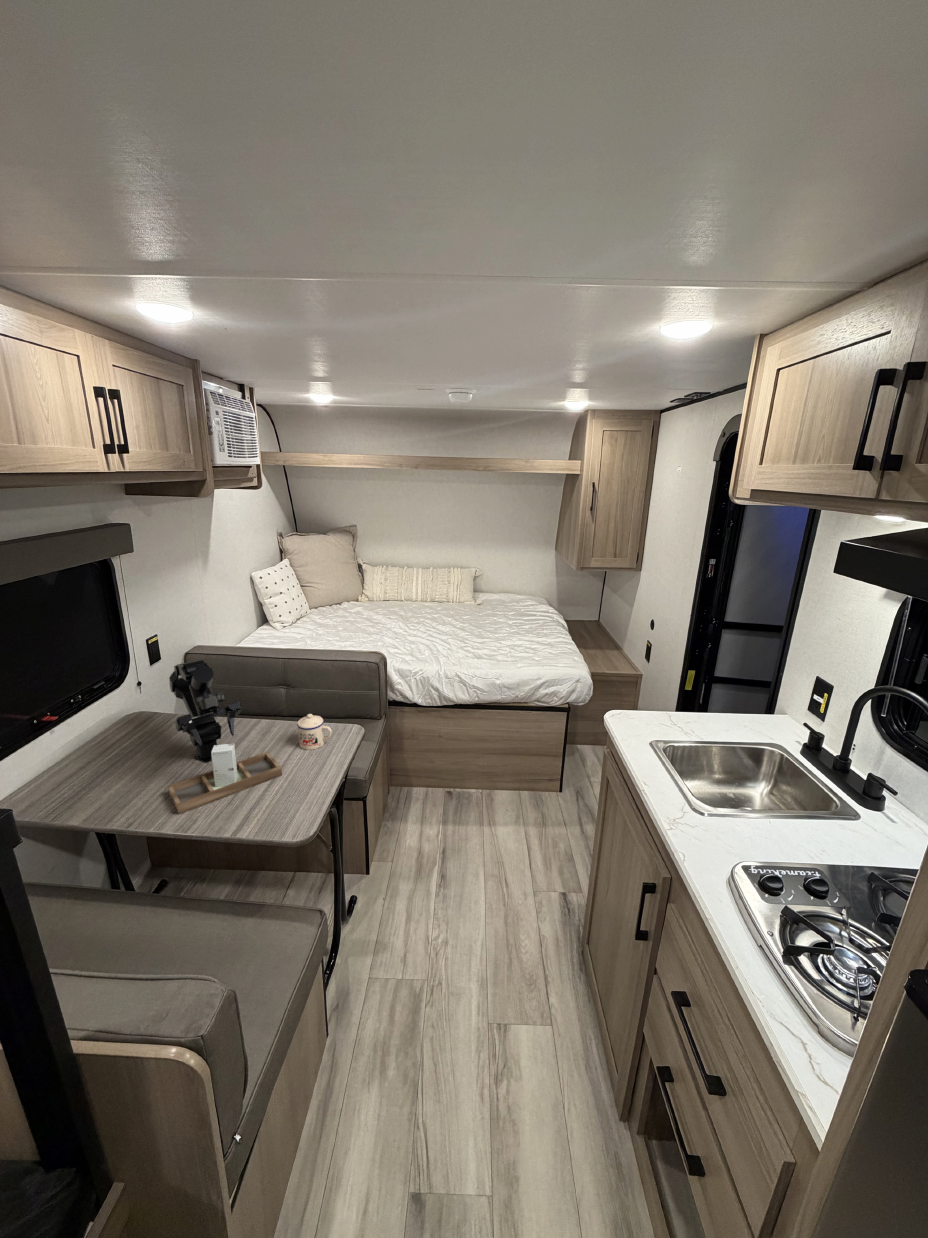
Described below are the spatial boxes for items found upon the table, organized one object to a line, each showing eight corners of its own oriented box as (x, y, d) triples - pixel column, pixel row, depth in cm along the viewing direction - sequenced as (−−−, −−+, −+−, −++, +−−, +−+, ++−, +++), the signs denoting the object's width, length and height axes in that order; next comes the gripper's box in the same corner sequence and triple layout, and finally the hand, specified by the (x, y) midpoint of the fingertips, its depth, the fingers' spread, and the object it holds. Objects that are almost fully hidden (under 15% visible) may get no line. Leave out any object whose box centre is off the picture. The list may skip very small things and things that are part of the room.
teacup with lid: (294, 750, 177) (292, 720, 174) (304, 736, 186) (302, 708, 183) (328, 751, 176) (326, 722, 173) (336, 738, 185) (334, 709, 182)
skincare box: (214, 787, 155) (209, 752, 151) (218, 779, 159) (212, 745, 155) (236, 784, 156) (231, 750, 153) (239, 776, 160) (234, 742, 157)
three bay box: (169, 794, 153) (167, 786, 152) (268, 759, 171) (267, 751, 171) (178, 814, 144) (177, 805, 143) (282, 775, 163) (281, 767, 162)
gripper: (171, 693, 150) (186, 741, 145) (236, 677, 162) (252, 721, 157) (169, 708, 158) (183, 754, 153) (231, 692, 170) (246, 734, 165)
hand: (217, 740), depth 157 cm, fingers open, 9 cm apart
